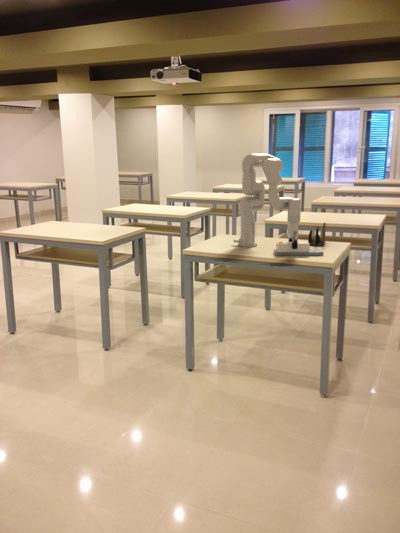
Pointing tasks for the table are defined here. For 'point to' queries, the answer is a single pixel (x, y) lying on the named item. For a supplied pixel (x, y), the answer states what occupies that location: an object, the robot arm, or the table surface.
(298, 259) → the table surface
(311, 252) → the mounting plate
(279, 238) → the table surface
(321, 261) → the table surface
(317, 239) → the letter holder
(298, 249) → the power strip
